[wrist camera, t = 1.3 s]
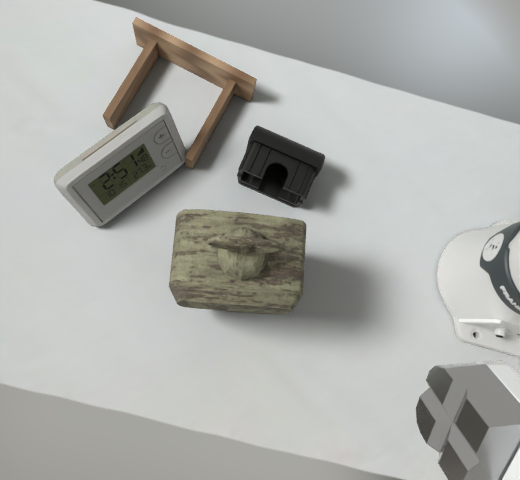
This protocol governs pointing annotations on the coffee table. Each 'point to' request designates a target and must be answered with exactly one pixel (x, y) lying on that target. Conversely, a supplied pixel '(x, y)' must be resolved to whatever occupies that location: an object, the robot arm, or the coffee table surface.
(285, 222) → the tabletop clock
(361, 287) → the coffee table surface
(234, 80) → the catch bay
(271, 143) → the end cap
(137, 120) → the digital clock
